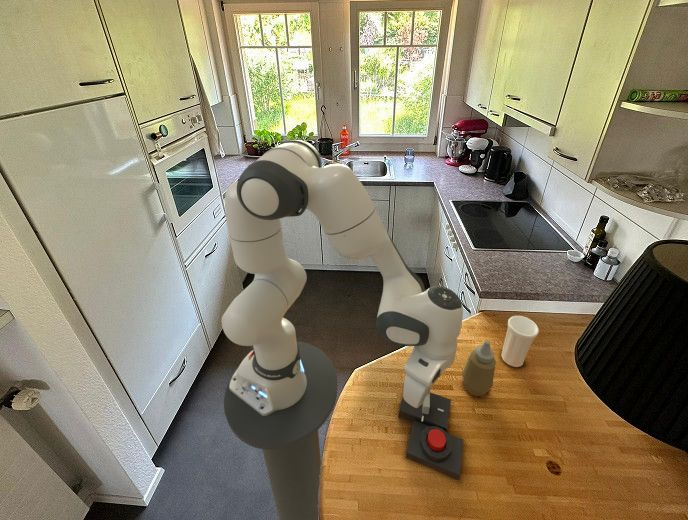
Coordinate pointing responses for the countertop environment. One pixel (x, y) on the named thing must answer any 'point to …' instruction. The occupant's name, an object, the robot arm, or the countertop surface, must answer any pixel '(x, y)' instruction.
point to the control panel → (436, 412)
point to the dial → (426, 404)
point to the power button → (436, 440)
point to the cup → (518, 340)
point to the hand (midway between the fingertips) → (428, 387)
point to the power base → (439, 461)
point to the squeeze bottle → (479, 370)
